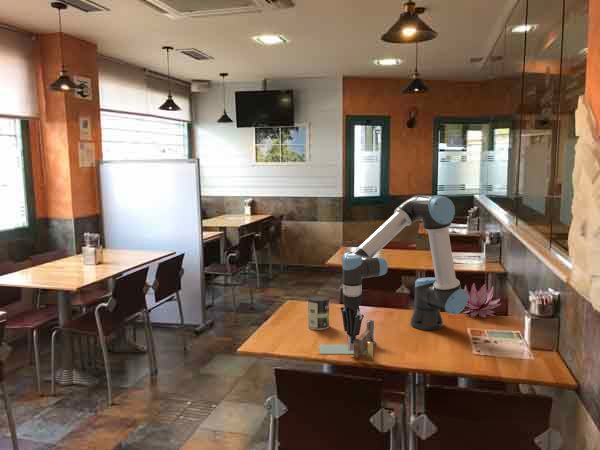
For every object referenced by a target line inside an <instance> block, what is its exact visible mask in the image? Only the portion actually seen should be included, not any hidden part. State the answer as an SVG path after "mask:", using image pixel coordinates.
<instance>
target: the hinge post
mask: <svg viewBox="0 0 600 450" xmlns="http://www.w3.org/2000/svg"><path fill="white" fill-rule="evenodd" d="M374 324H375V321H374V320H372V319H368V320H366V330H371V342H373V346H376V344H377V342H376V341H375V340H374V339H375V335H374V333H375V331H374V329H375V325H374Z"/></svg>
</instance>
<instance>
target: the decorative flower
mask: <svg viewBox="0 0 600 450" xmlns="http://www.w3.org/2000/svg"><path fill="white" fill-rule="evenodd" d="M463 290H465V291H466V292H467V294H468V301H467V304H466V306H465V307H468V308H466V309H465V308H464V309H463V310H464V311H463V310H462V314H468V313H469V315H470V317H474V318H476V316H479V317H480V318H486V319H487V315H488V316H492V317H496V315H495V314H494V311H492V310H491V309H495V308H497V307H499V306H500V305H501V303H498V302H500V300H501V298H497V299H494V300H492V297H493V295H494V286H492V287H490V289H488V288H487V284H486V283H484V284H483V285H482V286H481V287H479V289H478V290H477V288H476V284H475V283H474V282H473V284H472V285H471V288H470V291H469V290H468V287H467V285H465V286H464V289H463Z"/></svg>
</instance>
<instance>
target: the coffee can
mask: <svg viewBox="0 0 600 450" xmlns="http://www.w3.org/2000/svg"><path fill="white" fill-rule="evenodd" d="M307 315H308V316H307V319H308V320H307V321H308V323H307V327H308V329H311V330H314V331H315V330H316V331H322V330H326V329H329V328H330V297H329V296H327V295H321V294H315V295H314V294H313V295H311V296H308V297H307Z"/></svg>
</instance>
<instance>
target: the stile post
mask: <svg viewBox="0 0 600 450" xmlns="http://www.w3.org/2000/svg"><path fill="white" fill-rule="evenodd" d="M373 360H374V345H373V342H371V341H368V342H367V354H366V361H369V362H370V361H373Z"/></svg>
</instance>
